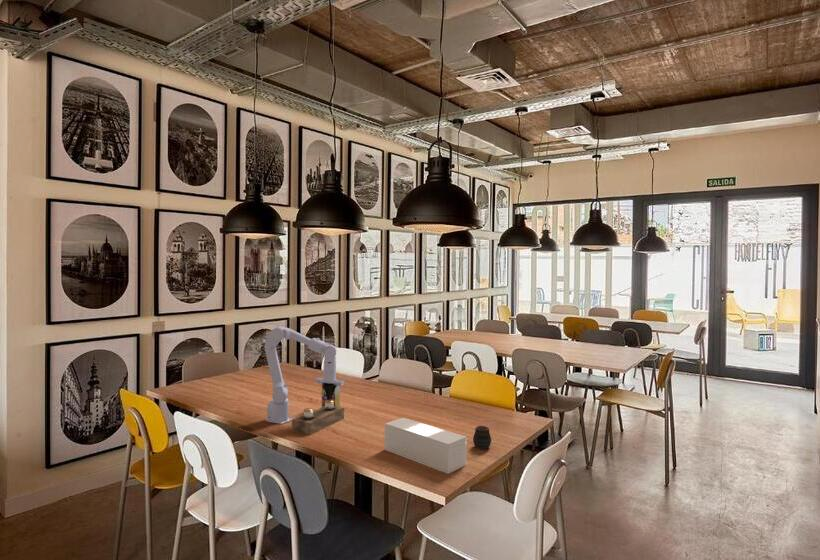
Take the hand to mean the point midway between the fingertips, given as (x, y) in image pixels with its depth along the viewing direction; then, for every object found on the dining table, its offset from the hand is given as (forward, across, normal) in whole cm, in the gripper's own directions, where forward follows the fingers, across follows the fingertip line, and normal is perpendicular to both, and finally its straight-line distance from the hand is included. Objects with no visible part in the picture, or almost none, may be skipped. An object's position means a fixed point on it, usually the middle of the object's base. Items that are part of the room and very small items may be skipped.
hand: (329, 399), depth 226 cm
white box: (+10, -58, +21) cm, 63 cm away
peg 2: (+5, 0, 0) cm, 5 cm away
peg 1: (+5, 0, +16) cm, 17 cm away
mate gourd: (+10, -75, +1) cm, 76 cm away
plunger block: (+10, 0, +8) cm, 13 cm away
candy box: (+10, +9, -14) cm, 19 cm away
